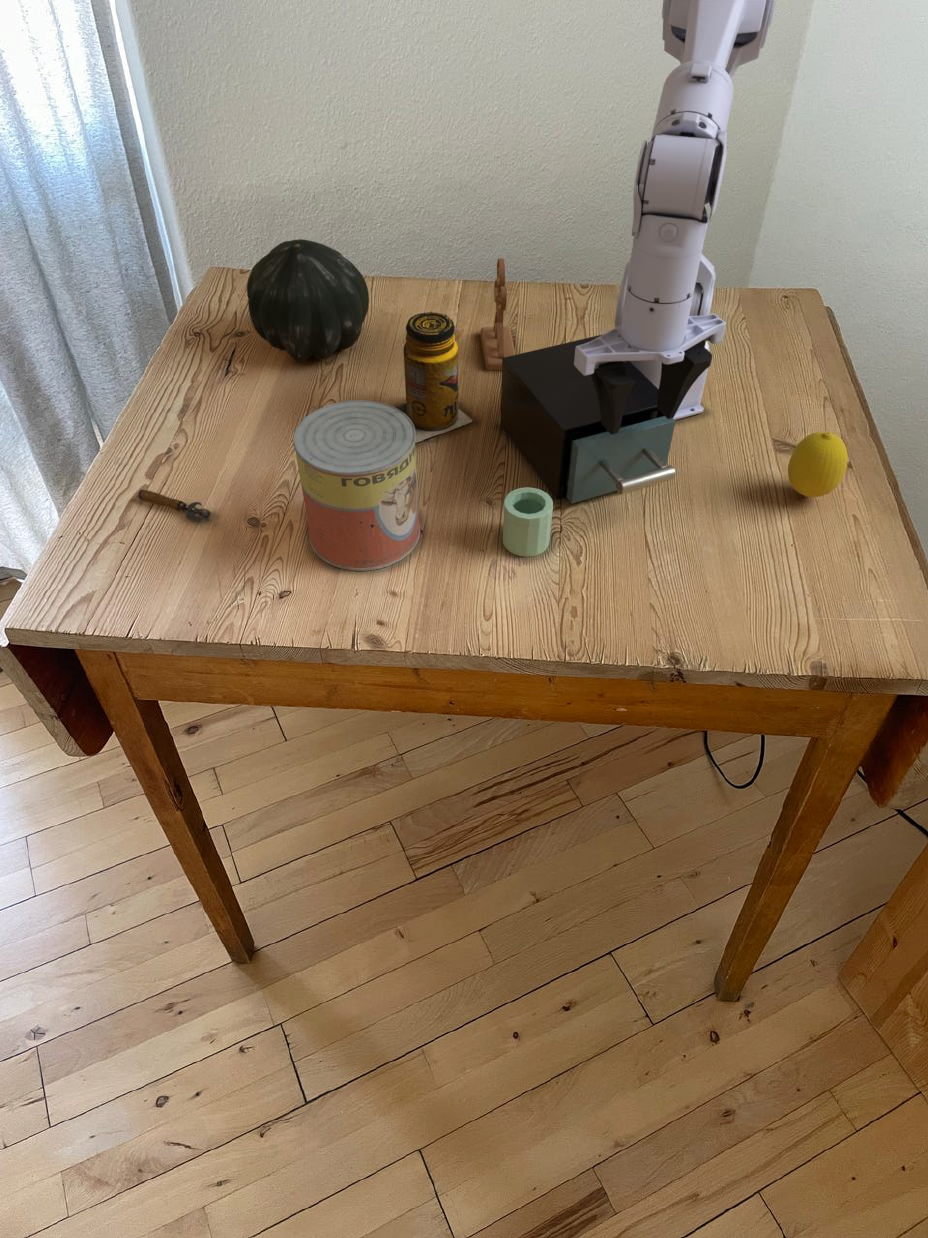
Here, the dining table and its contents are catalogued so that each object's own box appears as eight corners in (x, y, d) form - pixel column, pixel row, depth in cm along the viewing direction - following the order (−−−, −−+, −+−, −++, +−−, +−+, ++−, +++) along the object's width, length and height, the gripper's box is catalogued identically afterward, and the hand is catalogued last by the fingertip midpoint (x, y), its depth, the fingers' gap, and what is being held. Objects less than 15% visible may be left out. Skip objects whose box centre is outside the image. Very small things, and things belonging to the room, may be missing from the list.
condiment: (473, 422, 105) (474, 327, 96) (410, 446, 102) (405, 350, 93) (439, 392, 109) (437, 299, 100) (378, 414, 106) (370, 320, 97)
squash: (318, 257, 121) (253, 198, 107) (406, 293, 116) (349, 236, 102) (271, 353, 122) (201, 307, 108) (356, 394, 117) (293, 351, 103)
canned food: (377, 586, 87) (367, 488, 78) (286, 544, 91) (267, 446, 82) (441, 520, 93) (439, 423, 84) (353, 483, 97) (342, 387, 88)
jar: (536, 520, 93) (539, 482, 90) (557, 549, 90) (561, 511, 87) (494, 532, 92) (496, 494, 88) (515, 562, 89) (517, 524, 85)
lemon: (834, 485, 97) (858, 423, 91) (831, 517, 94) (856, 454, 88) (782, 474, 98) (802, 412, 93) (777, 506, 95) (797, 443, 89)
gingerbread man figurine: (480, 333, 118) (481, 243, 110) (509, 332, 119) (513, 242, 110) (486, 370, 112) (488, 278, 103) (517, 369, 113) (522, 277, 104)
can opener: (138, 501, 95) (135, 492, 94) (153, 488, 96) (150, 480, 96) (206, 528, 92) (203, 520, 91) (220, 515, 94) (218, 506, 93)
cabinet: (657, 471, 99) (671, 401, 92) (557, 500, 95) (563, 430, 89) (593, 401, 108) (602, 334, 101) (499, 426, 104) (502, 357, 98)
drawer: (689, 504, 94) (703, 447, 88) (594, 533, 91) (602, 476, 85) (602, 410, 105) (610, 355, 100) (515, 433, 102) (518, 377, 97)
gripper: (609, 326, 73) (591, 462, 83) (758, 292, 77) (724, 425, 87) (568, 287, 77) (556, 420, 87) (711, 256, 81) (684, 387, 91)
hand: (637, 420), depth 87 cm, fingers open, 6 cm apart
